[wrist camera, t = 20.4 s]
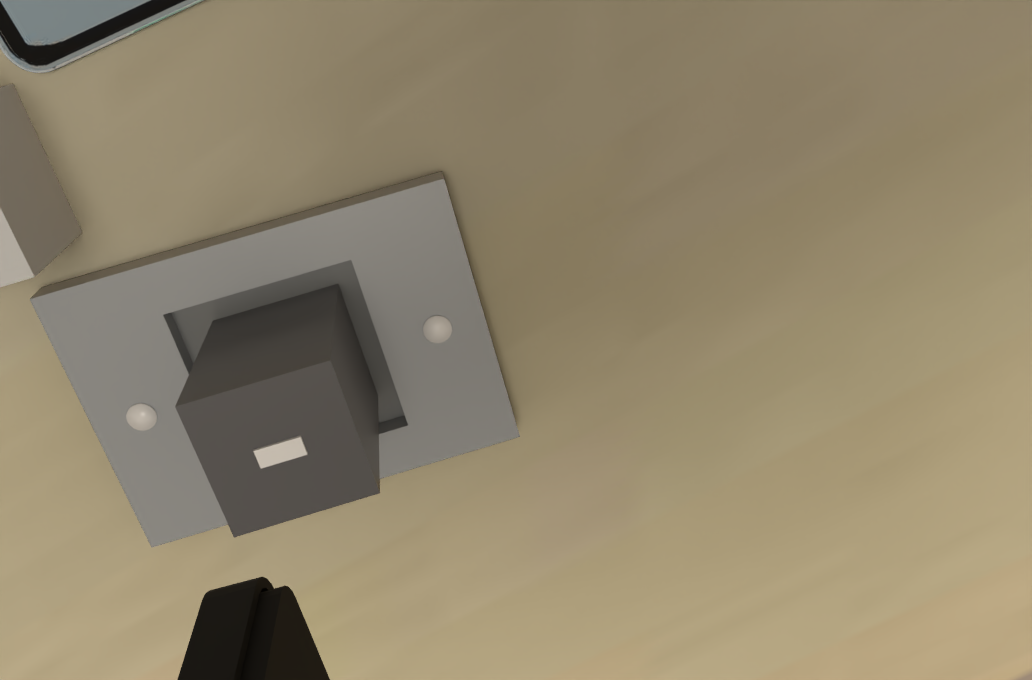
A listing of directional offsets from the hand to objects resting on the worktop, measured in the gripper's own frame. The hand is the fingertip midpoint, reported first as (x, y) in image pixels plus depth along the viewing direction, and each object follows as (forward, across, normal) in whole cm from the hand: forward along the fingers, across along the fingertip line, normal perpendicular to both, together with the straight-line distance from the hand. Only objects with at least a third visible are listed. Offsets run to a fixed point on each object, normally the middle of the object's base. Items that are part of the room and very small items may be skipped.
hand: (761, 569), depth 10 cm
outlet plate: (+25, +10, +6) cm, 27 cm away
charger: (+24, +10, +6) cm, 27 cm away
